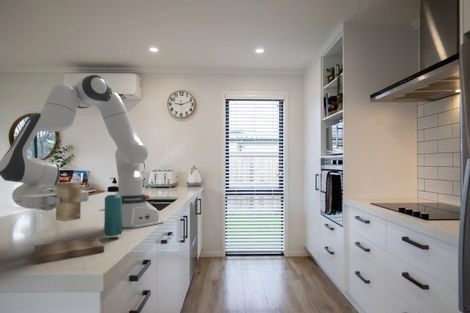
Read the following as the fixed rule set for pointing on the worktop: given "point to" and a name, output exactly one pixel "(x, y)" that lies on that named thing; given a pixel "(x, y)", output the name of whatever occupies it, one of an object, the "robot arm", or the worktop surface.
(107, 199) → the beverage bottle
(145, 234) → the worktop surface
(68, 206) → the oak block
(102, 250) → the walnut board
